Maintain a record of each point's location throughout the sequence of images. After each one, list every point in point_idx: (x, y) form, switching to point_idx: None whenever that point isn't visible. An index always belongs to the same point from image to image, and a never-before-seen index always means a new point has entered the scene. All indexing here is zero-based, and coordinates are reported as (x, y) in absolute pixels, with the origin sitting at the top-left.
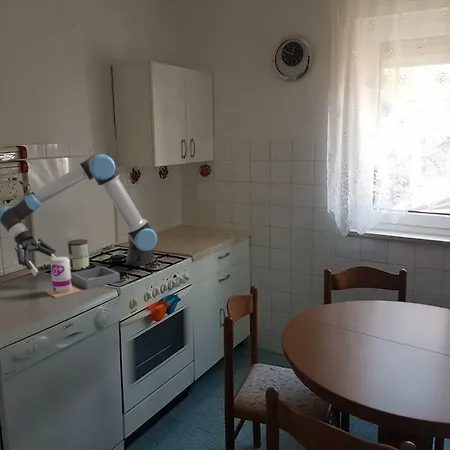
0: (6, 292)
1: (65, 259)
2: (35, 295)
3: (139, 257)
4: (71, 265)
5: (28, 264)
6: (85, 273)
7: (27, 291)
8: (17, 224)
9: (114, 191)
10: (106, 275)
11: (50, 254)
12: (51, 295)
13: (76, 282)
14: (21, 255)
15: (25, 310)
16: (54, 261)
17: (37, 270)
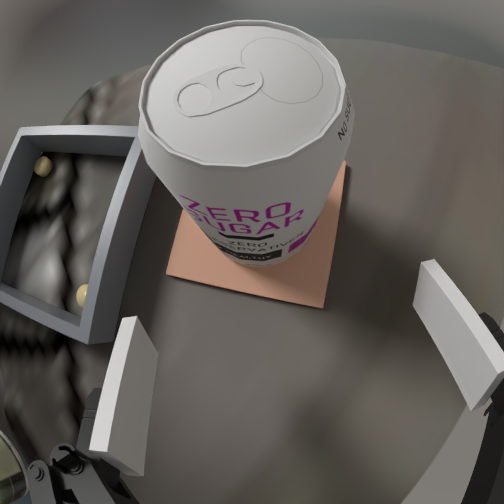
0: (425, 461)
1: (230, 24)
2: (386, 295)
3: None
4: (18, 481)
5: (502, 346)
6: (36, 304)
7: (369, 399)
8: None
9: None
10: (53, 134)
11: (110, 484)
12: (338, 211)
13: (124, 270)
14: None
15: (481, 155)
16: (337, 68)
17: (429, 272)
